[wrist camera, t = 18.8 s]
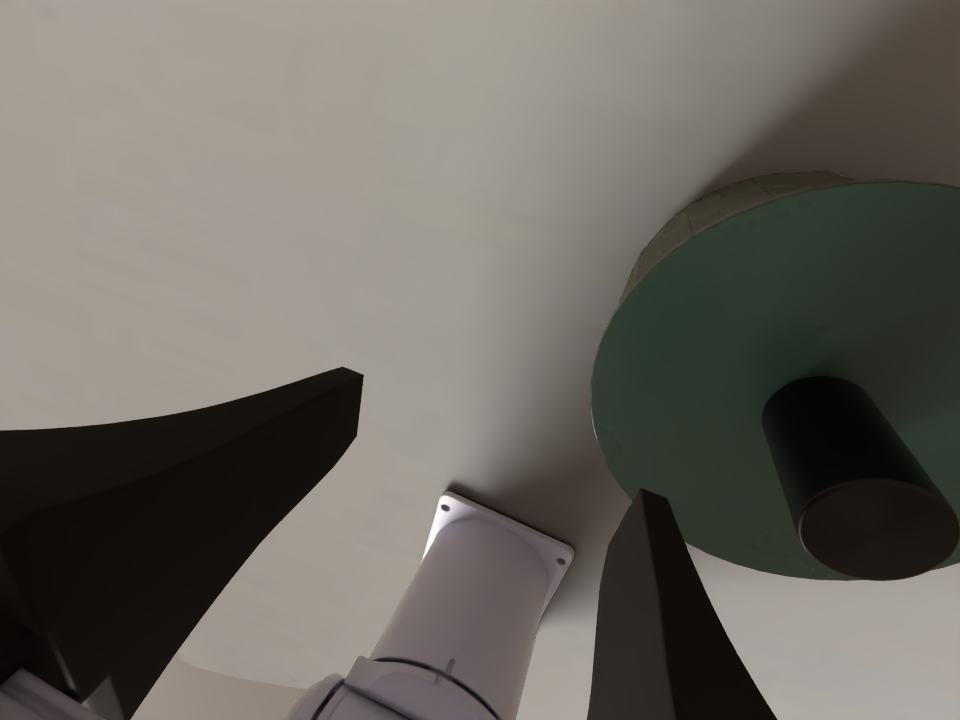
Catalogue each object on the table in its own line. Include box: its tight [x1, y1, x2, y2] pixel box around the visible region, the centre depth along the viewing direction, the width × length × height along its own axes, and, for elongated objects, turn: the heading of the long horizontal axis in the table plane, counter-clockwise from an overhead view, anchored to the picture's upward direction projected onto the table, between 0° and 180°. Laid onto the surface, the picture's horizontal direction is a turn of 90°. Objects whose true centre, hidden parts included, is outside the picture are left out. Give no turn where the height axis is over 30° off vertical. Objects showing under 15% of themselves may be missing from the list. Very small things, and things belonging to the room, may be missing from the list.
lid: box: [590, 179, 960, 581], centre depth 11 cm, size 11×11×5 cm
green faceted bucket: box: [619, 171, 856, 304], centre depth 15 cm, size 10×10×6 cm
